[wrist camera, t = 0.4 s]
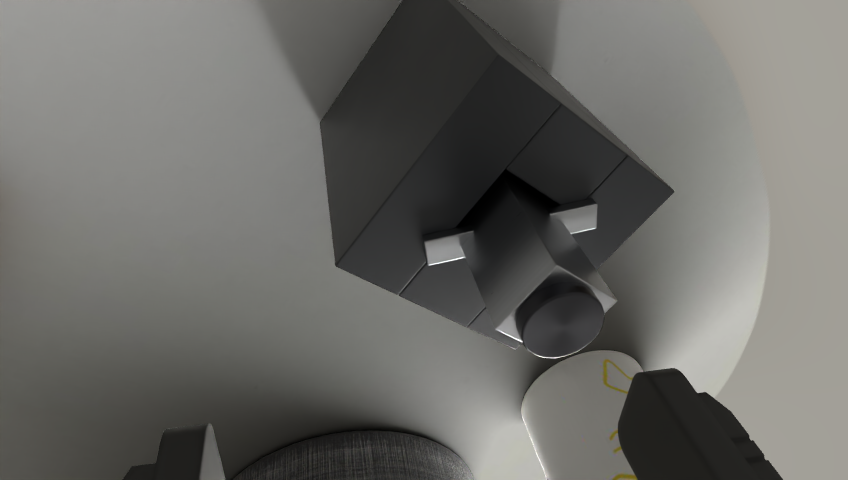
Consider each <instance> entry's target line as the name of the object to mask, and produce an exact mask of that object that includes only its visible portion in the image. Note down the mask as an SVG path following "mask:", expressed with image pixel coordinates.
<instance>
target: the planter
mask: <svg viewBox="0 0 848 480" xmlns="http://www.w3.org/2000/svg"><path fill="white" fill-rule="evenodd" d="M233 480H474V478H473V475H472V473H471V471H470V469H469V468H468V466H467V465H466V464H465V463H464V461H463V460H462V459H461V458H460V457H459V456H457V455H456V454H455V453H454V452H452V451H451V450H449V449H448V448H446V447H444V446H442V445H440V444H438V443H436V442H434V441H431V440H429V439H426V438H422V437H419V436H415V435H411V434H406V433H400V432H391V431H351V432H342V433H336V434H330V435H325V436H320V437H316V438H312V439H308V440H305V441H302V442H298V443H295V444H293V445H290V446H287V447H285V448H282V449H280V450H278V451H275V452H273V453H271V454H269V455H267V456H265V457H264V458H262V459H260V460H258V461H257V462H255V463H253V464H252V465H250V466H249V467H247V468H246V469H245V470H244V471H242V472H241V473H240V474H238V475H237V476H236V477H235V478H234V479H233Z"/></svg>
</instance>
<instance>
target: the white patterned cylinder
mask: <svg viewBox="0 0 848 480" xmlns="http://www.w3.org/2000/svg"><path fill="white" fill-rule="evenodd" d="M638 372H644V371H643V370H642V368H641V367H640V365H639V364H638V362H637V361H636V360H635V359H633V358H632V357H630V356H629V355H627V354H624V353H621V352H617V351H610V350H599V351H591V352H586V353H582V354H578V355H575V356H572V357H570V358H567V359H565V360H563V361H561V362H559V363H557V364H555V365H554V366H552V367H551V368H549V369H548V370H546V371H545V372H544V373H543V374H541V375H540V376H539V377H538V378H537V379H536V380H535V381H534V382H533V384H532V385H531V386H530V388H529V389H528V391H527V392H526V394H525V396H524V399H523V402H522V407H521V414H522V418H523V421H524V423H525V426H526V428H527V431H528V433H529V436H530V438H531V441H532V444H533V446H534V449H535V451H536V454H537V456H538V459H539V461H540V464H541V466H542V469H543V471H544V474H545V476H546V479H547V480H638V479H637V478H636V476H635V474H634V472H633V470H632V468H631V466H630V465H629V463H628V461H627V459H626V457H625V455H624V453H623V451H622V449H621V446H620V442H619V437H618V421H619V418H620V415H621V412H622V409H623V406H624V403H625V400H626V397H627V394H628V391H629V388H630V385H631V382H632V379H633V377H634V375H635V374H636V373H638Z"/></svg>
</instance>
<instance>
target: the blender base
mask: <svg viewBox="0 0 848 480" xmlns="http://www.w3.org/2000/svg"><path fill="white" fill-rule="evenodd" d="M320 129H321V138H322V147H323V156H324V166H325V175H326V184H327V193H328V203H329V212H330V221H331V230H332V239H333V249H334V258H335V266H336V267H338V268H341V269H343V270H345V271H347V272H349V273H351V274H353V275H356V276H358V277H360V278H362V279H364V280H366V281H369V282H371V283H373V284H375V285H377V286H379V287H381V288H384V289H386V290H388V291H390V292H392V293H394V294H396V295H398V294H399V296H401V297H403V298H405V299H407V300H409V301H411V302H414V303H416V304H418V305H420V306H422V307H424V308H427V309H429V310H431V311H433V312H435V313H437V314H439V315H442V316H444V317H446V318H448V319H450V320H452V321H454V322H457V323H459V324H461V325H463V326H465V327H467V328H469V329H471V330H473V331H476V332H478V333H480V334H482V335H484V336H486V337H489V338H491V339H493V340H495V341H497V342H499V343H501V344H504V345H506V346H508V347H510V348H512V349H514V350H516V349H517V348H518V347H519V346H520V345H521V344H522V342H521V341H519V340H516V339H514V338H512V337H510V336H508V335H506V334H504V333H502V332H500V331H498V330H496V329H495V328H494V325H493V323H492V320H491V318H490V316H489V313H488V311H487V308H486V306H485V304H484V301H483V299H482V296H481V294H480V291H479V289H478V287H477V284H476V282H475V279H474V277H473V275H472V272H471V270H470V267H469V265H468V262H467V260H466V258H460V259H456V260H451V261H447V262H442V263H438V264H433V265H428V264H427V261H426V258H425V251H424V245H423V239H422V236H423V235H426V234H431V233H436V232H440V231H445V230H449V229H454V228H456V226H457V225H458V224H459V223H460V222H461V220H462V219H463V218H464V217H465V216H466V215H467V213H468V212H469V211H470V210H471V209H472V208H473V206H474V205H475V204H476V203H477V202H478V200H479V199H480V198H481V197H482V196H483V195H484V193H485V192H486V191H487V190H488V189H489V188H490V186H491V185H492V184H493V183H494V182H495V181H496V179H497V178H498V177H499V176H500V175H501V173H502V172H503V171H504V170H505V169H506V170H508V171H509V172H511V173H512V174H514V175H515V176H517V177H518V178H520V179H521V180H523V181H524V182H526V183H527V184H529V185H530V186H532V187H533V188H535V189H536V190H538V191H539V192H541V193H543V195H544V196H545V198H546V199H547V200H548V202H549V203H550V205H551V206H552V207H555V206H559V205H564V204H569V203H573V202H578V201H582V200H587V199H594V201H595V202H596V203H597V225H596V228H595V229H591V230H587V231H582V232H578V233H573V234H571V235H572V236H573V238H574V239H575V241H576V242H577V243H578V245H579V246H580V248H581V249H582V251H583V252H584V253H585V255H586V256H587V258H588V259H589V261H590V262H591V263H592V265H593V266H594V268H595V269H596V270H597V269H598V268H599V267H600V266H601V265H602V264H603V263H604V262H605V261H606V260H607V259H608V258H609V257H610V256H611V255H612V254H613V253H614V252H615V251H616V250H617V249H618V248H619V247H620V246H621V245H622V244H623V243H624V242H625V241H626V240H627V239H628V238H629V237H630V236H631V235H632V234H633V233H634V232H635V231H636V230H637V229H638V228H639V227H640V226H641V225H642V224H643V223H644V222H645V221H646V220H647V219H648V218H649V217H650V216H651V215H652V214H653V213H654V212H655V211H656V210H657V209H658V208H659V207H660V206H661V205H662V204H663V203H664V202H665V201H666V200H667V199H668V198H669V197H670V196H671V195H672V194H673V193H674V190H673V189H672V188H671V187H670V186H669V185H668V184H667V183H665V182H664V181H663V180H662V179H661V178H660V177H659V176H658V175H657V174H656V173H655V172H654V171H653V170H652V169H651V168H649V167H648V166H647V165H646V164H645V163H644V162H643V161H642V160H641V159H640V158H639V157H638V156H637V155H636V154H635V153H633V152H632V151H631V150H630V149H629V148H628V147H627V146H626V145H625V144H624V143H623V142H622V141H621V140H620V139H618V138H617V137H616V136H615V135H614V134H613V133H612V132H611V131H610V130H609V129H608V128H607V127H606V126H605V125H604V124H602V123H601V122H600V121H599V120H598V119H597V118H596V117H595V116H594V115H593V114H592V113H591V112H590V111H589V110H588V109H586V108H585V107H584V106H583V105H582V104H581V103H580V102H579V101H578V100H577V99H576V98H575V97H574V96H573V95H572V94H570V93H569V92H568V91H567V90H566V89H565V88H564V87H563V86H562V85H561V84H560V83H559V82H558V81H557V80H556V79H554V78H553V77H552V76H551V75H550V74H549V73H547V72H546V71H545V70H544V69H542V68H541V67H540V66H539V65H537V64H536V63H535V62H534V61H532V60H531V59H530V58H529V57H527V56H526V55H525V54H524V53H522V52H521V51H520V50H519V49H517V48H516V47H515V46H514V45H512V44H511V43H510V42H509V41H507V40H506V39H505V38H504V37H502V36H501V35H500V34H499V33H497V32H496V31H495V30H494V29H492V28H491V27H490V26H489V25H487V24H486V23H485V22H484V21H482V20H481V19H480V18H479V17H477V16H476V15H475V14H474V13H472V12H471V11H470V10H469V9H467V8H466V7H465V6H464V5H462V4H461V3H460V2H459V1H457V0H403V1H402V3H401V4H400V6H399V7H398V9H397V10H396V11H395V13H394V14H393V16H392V17H391V19H390V20H389V22H388V23H387V25H386V26H385V28H384V29H383V31H382V32H381V34H380V35H379V37H378V38H377V39H376V41H375V42H374V44H373V45H372V47H371V48H370V50H369V51H368V53H367V54H366V56H365V57H364V59H363V60H362V62H361V63H360V65H359V66H358V67H357V69H356V70H355V72H354V73H353V75H352V76H351V78H350V79H349V81H348V82H347V84H346V85H345V87H344V88H343V90H342V91H341V93H340V94H339V96H338V97H337V98H336V100H335V101H334V103H333V104H332V106H331V107H330V109H329V110H328V112H327V113H326V115H325V116H324V118H323V119H322V121H321V122H320Z"/></svg>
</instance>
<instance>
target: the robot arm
mask: <svg viewBox="0 0 848 480" xmlns="http://www.w3.org/2000/svg"><path fill="white" fill-rule="evenodd" d="M618 437H619V442H620V446H621V449H622V451H623V453H624V455H625V457H626V459H627V461H628V463H629V465H630V466H631V468H632V470H633V472H634V474H635V476H636V478H637V479H638V480H783V479H782V478H781V476H780V475H779V474H778V472H777V471H776V470H775V468H774V467H773V466H772V465H771V463H770V462H769V461H768V460H767V461H766V460H765V459H764V454H763V453H762V451H761V450H760V449H759V448H758V446H757V445H756V444H755V442H754V441H753V440H752V441H751V440H750V439H749V435H748V433H747V432H746V431H745V429H744V428H743V427H742V425H741V424H740V423H739V421H738V420H737V419H736V417H735V416H734V415H733V414H732V412H731V411H730V410H728V409H727V408H726V407H724V406H723V405H722V404H720V403H719V402H718V401H717V400H715V399H714V398H713V397H711V396H710V395H709V394H708V393H706V392H703V393H697V392H696V391H695V390H694V388H693V387H692V385H691V384H690V383H689V381H688V380H687V379H686V377H685V376H684V375H683V374H682V373H681V372H680V371H679V370H677V369H675V368H670V369H661V370H653V371H645V372H638V373H636V374H635V375H634V377H633V379H632V382H631V385H630V388H629V391H628V394H627V397H626V400H625V403H624V406H623V409H622V412H621V415H620V418H619V421H618ZM123 480H225V475H224V471H223V467H222V463H221V459H220V455H219V451H218V447H217V443H216V439H215V435H214V431H213V428H212V425H211V424H202V425H194V426H186V427H178V428H170V429H165V430H164V432H163V434H162V437H161V441H160V446H159V451H158V455H157V460H156V463H154V464H146V465H138V466H132V467H131V468H130V470H129V471H128V472H127V474H126V475H125V477H124V478H123Z"/></svg>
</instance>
